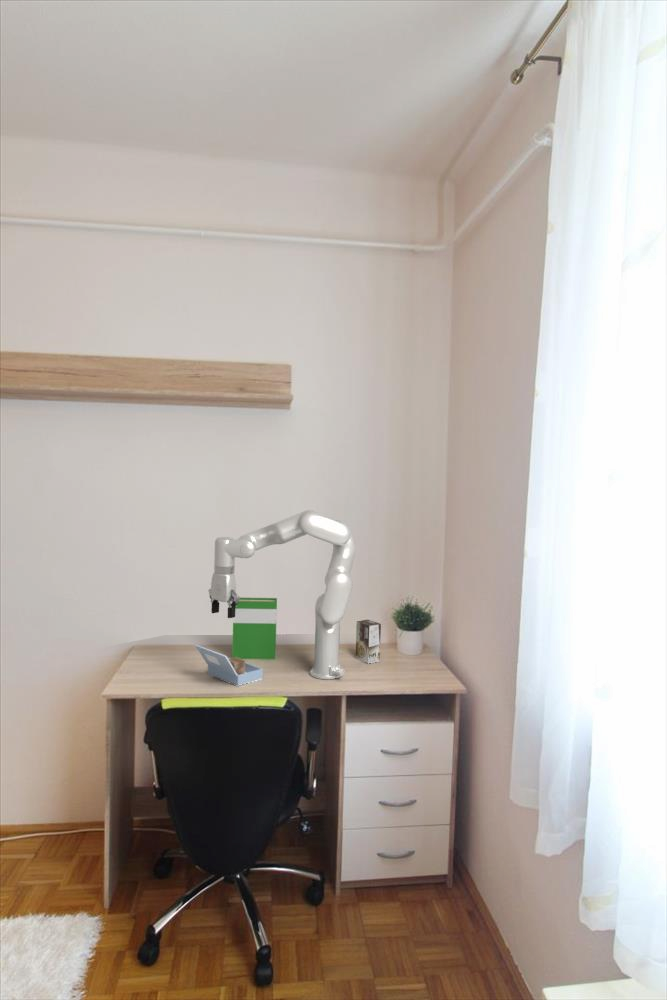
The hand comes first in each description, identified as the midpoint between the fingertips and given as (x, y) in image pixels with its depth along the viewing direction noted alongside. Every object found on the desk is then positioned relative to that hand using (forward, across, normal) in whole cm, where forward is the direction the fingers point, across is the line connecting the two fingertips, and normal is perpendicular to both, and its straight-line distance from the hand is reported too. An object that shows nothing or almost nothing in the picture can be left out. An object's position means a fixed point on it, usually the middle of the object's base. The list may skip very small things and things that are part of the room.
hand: (223, 615), depth 252 cm
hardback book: (+24, -11, +25) cm, 36 cm away
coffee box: (+24, +24, +57) cm, 66 cm away
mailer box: (+23, +4, +3) cm, 24 cm away
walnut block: (+23, +4, +3) cm, 23 cm away
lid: (+15, +4, -6) cm, 17 cm away
